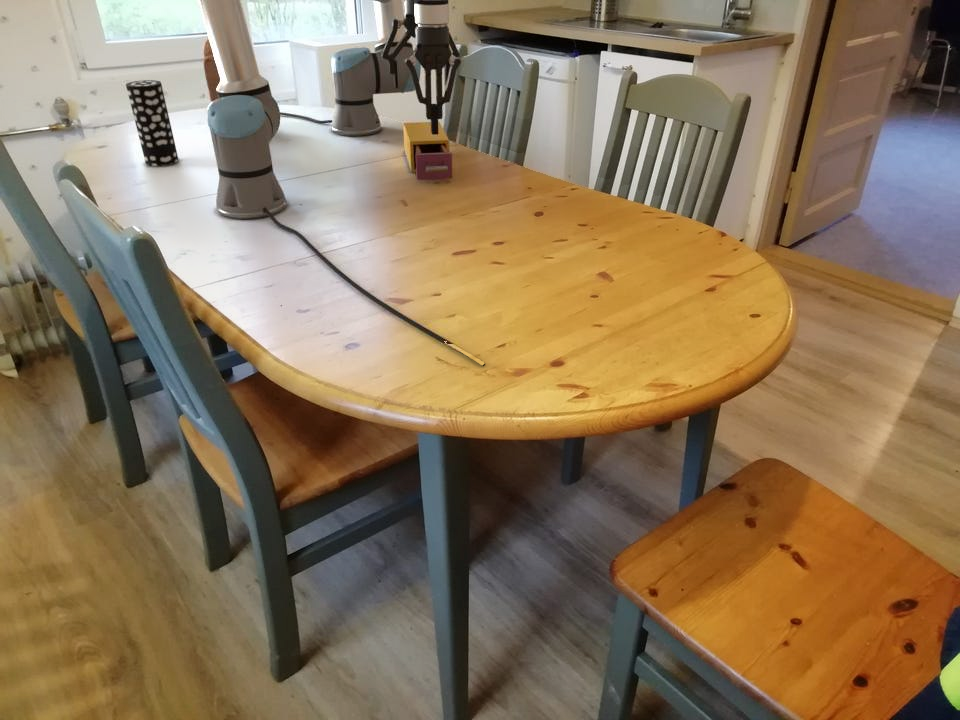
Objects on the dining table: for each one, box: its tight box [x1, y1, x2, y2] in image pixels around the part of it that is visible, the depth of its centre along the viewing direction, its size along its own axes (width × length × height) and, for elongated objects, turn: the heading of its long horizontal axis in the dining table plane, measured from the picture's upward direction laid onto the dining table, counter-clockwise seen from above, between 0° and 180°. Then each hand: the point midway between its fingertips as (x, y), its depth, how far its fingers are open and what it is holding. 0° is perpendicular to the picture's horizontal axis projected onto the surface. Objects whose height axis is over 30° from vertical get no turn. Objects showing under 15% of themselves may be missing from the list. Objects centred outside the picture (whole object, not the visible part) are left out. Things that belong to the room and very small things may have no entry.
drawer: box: [413, 144, 453, 181], centre depth 178 cm, size 23×9×6 cm, turn 10°
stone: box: [202, 36, 221, 104], centre depth 205 cm, size 22×11×28 cm, turn 18°
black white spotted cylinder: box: [125, 79, 179, 167], centre depth 181 cm, size 8×8×20 cm
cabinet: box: [402, 121, 450, 174], centre depth 188 cm, size 19×10×8 cm, turn 10°
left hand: (434, 132), depth 166 cm, fingers closed
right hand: (421, 86), depth 184 cm, fingers open, 13 cm apart
